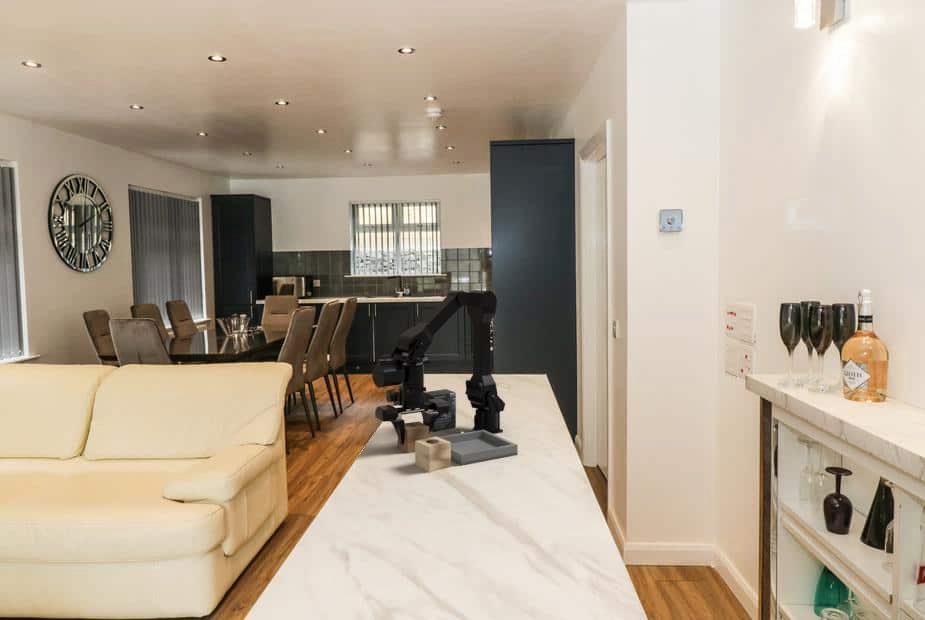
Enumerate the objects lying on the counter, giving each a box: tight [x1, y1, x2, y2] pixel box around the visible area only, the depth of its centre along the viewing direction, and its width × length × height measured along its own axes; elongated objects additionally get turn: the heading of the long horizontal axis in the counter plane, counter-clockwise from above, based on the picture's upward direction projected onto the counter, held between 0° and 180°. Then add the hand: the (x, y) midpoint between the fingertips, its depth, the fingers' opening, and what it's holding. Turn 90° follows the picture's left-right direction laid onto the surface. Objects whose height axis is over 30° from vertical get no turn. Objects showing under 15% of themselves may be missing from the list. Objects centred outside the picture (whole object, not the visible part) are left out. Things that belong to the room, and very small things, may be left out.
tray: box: [437, 430, 519, 466], centre depth 160 cm, size 16×16×2 cm
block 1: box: [397, 421, 430, 454], centre depth 162 cm, size 6×6×6 cm
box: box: [424, 388, 457, 433], centre depth 182 cm, size 8×6×11 cm
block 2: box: [414, 436, 452, 473], centre depth 149 cm, size 6×6×6 cm
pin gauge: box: [439, 429, 467, 437], centre depth 168 cm, size 12×2×2 cm, turn 120°
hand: (413, 442), depth 163 cm, fingers closed on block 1, 6 cm apart
